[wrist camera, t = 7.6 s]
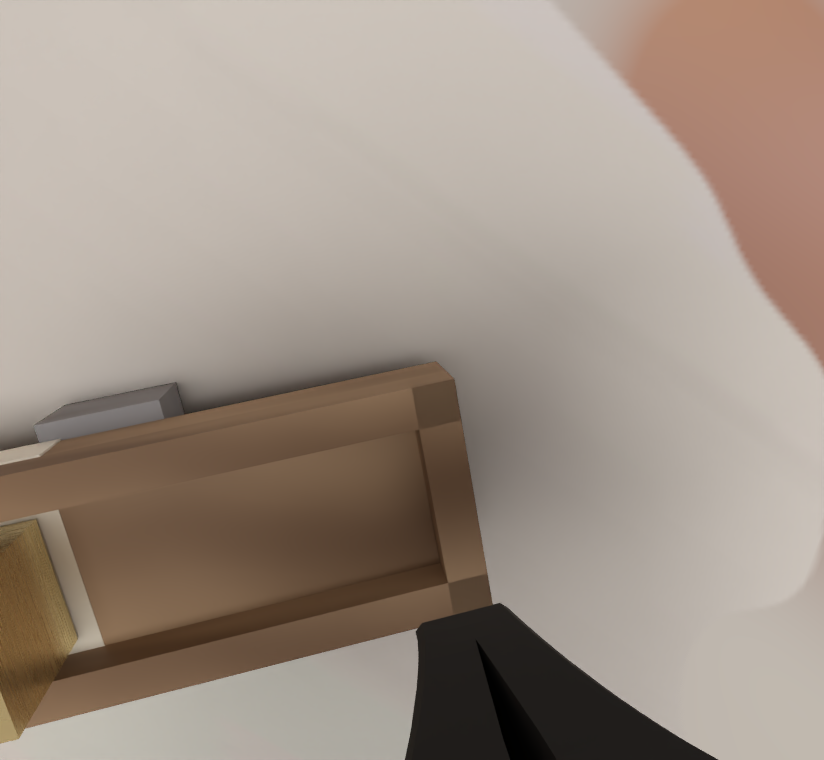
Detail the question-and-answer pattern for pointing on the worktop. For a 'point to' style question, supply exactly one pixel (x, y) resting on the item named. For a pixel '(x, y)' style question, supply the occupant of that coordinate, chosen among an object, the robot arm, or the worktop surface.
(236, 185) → the worktop surface
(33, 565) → the tan wooden block
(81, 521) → the beam
